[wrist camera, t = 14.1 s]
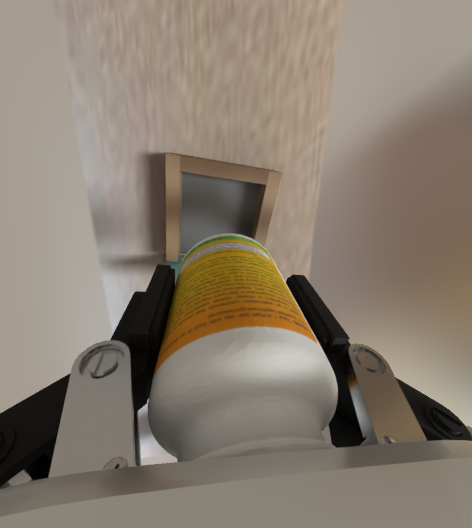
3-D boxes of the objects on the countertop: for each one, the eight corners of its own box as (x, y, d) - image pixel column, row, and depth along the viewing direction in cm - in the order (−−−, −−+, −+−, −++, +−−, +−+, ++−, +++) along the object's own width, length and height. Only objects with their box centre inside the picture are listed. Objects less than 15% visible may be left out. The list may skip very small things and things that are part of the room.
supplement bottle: (158, 260, 11) (-17, 654, 2) (249, 211, 10) (449, 542, 2) (210, 321, 13) (212, 611, 5) (285, 286, 13) (432, 559, 4)
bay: (254, 258, 26) (258, 268, 24) (170, 250, 24) (166, 261, 22) (274, 170, 21) (281, 173, 19) (170, 152, 19) (165, 153, 17)
